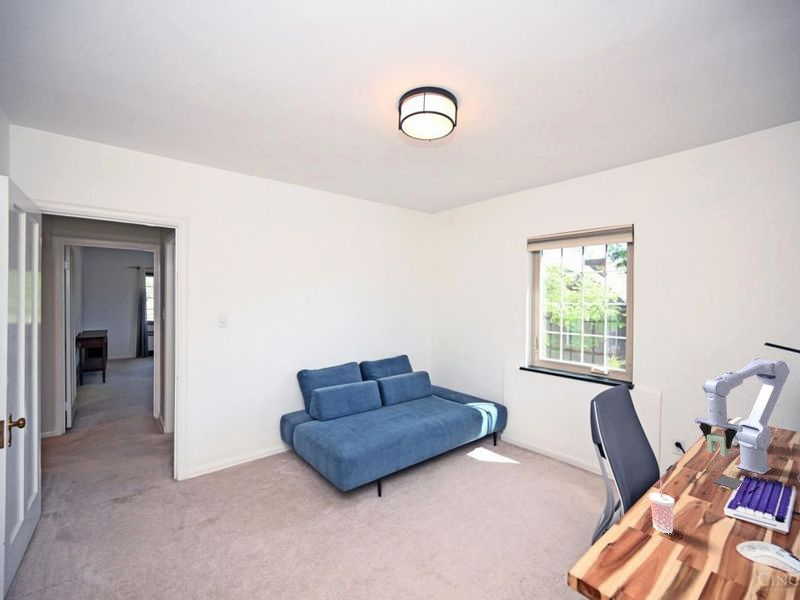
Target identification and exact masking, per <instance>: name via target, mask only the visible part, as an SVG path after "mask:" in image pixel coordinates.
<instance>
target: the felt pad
mask: <svg viewBox="0 0 800 600" xmlns="http://www.w3.org/2000/svg"><path fill="white" fill-rule="evenodd" d="M744 481H745V480H741V479H738V478H734V477H731V476H728V475H722V476H720V477H719V478H717V479H715V480H714V481H713V482H712V483H713V484H715V485H719V486H722V487H725V488H728V489H733V490H736V489H737V488H738V487H739V486H740V484H741V483H742V482H744ZM736 491H737V490H736Z"/></svg>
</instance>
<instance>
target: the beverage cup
mask: <svg viewBox="0 0 800 600" xmlns="http://www.w3.org/2000/svg"><path fill="white" fill-rule="evenodd" d="M659 486H660V487H659V488H660V489H659V490H660V492H650V493H649V494H648V495H649V497H648V498H649V501H650V506H651V508H650V509H651V516H652V525H653V529H654V528H655V529H656V530H655V529H654V530H655V531H657V530H658V531H660V532H659V533H661V532H662V533H661V534H664V533H668V534H667V535H670V534H669V533H671V534H673V533H672V532H674V531H673V529H674V506H675V503H676V502H675V499H674V498H673V497H671V496H670V495H668V494H664V493H663V480H662V479H659ZM658 531H657V532H658Z"/></svg>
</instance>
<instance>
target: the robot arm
mask: <svg viewBox="0 0 800 600" xmlns="http://www.w3.org/2000/svg"><path fill="white" fill-rule="evenodd" d="M790 372H791V370H790V369H789V366H788V364H787V363H786V362H785V361H783V360H773V359H764V358H759V357H757V358H754V359H752V360H749V363H748V364H746V365H745V366H743V367H742V368H740V369H738V370H737V371H733V370H728V371H725V373H724V374H722V375H718V376H716V377H715V378H713V379H712V378H709V379H706V380H705V381H704V382H703V385H702V389H703V392H704V394H705V396H706V401H707V418H702V417H694V424H697V425H698V424H699V427H698V428H699V429H700V430H701V432H702V434H703V436H704V438H705V441H706V443H707V435H708V434H711V433H712V427H715V428H721V429H724V432H723V433H724V435H725V436H726V449H730V450H731V448H732V445H731V444H732V441H733V439H734V437H735V439H736V440H737V441H738V443H739V444H738V445H739V457H740V463H739V464H737V465H736V468H738V469H741V470H745V471H747V472H748V471H749V472H753V473H756V474H758V475H759V474H760V475H765V474H766V473H767V472H769V471H770V470H772V467H770V466H769V464H768V463H769V462H768V461H769V460H768V451H767V450H768V449H767V448H769V447H770V445H771V441H772V440H771V439H772V438H771V437H772V435H773V433H772V431H771V430H770V429H769V427H768V428H767V426H766V425H767V423H768V422H769V420H770V418H771V415H772V413H773V412H774V410H775V406H776V404H777V402H778V399H779V397H780V395H781V393H782V390H783V388H784V385H785V384H786V381H787V379H788V377H789V374H790ZM753 376H756V378H757V379H758V380H759V381H760V382H762V387H761V389H760V391H759V394H758V396H757V398H756V400H755V402H754V405H753V407H752V410H751V411H750V413H749V417H748V418H747V419H744V421H741V422H740V423H739V425H735V424H731V423H729V422H728V413H727V412H728V411H727V409H728V407H727V396H728V395H729V394H730V392H731V391H732V389H735V388H737V387H739V386H742V384H743V383H744V380H747V379H748V378H751V377H753Z"/></svg>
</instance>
